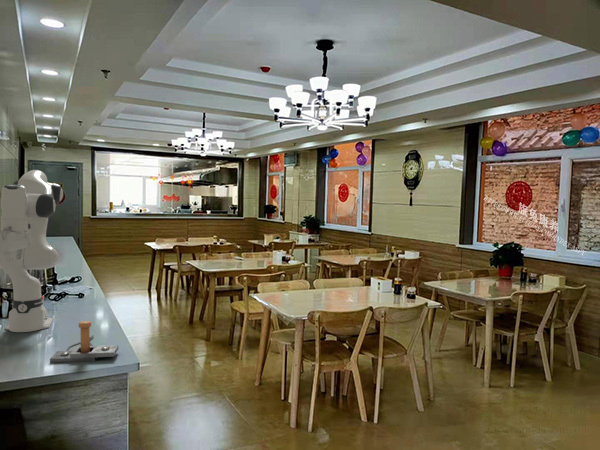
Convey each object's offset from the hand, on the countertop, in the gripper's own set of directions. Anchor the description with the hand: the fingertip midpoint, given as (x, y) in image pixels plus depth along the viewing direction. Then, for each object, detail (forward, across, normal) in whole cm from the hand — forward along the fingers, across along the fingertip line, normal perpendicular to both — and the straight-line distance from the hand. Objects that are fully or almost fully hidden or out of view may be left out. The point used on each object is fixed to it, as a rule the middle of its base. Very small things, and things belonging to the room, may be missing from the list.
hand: (14, 261), depth 177 cm
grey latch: (+37, -8, -28) cm, 47 cm away
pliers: (+38, +10, -22) cm, 45 cm away
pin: (+37, -8, -28) cm, 47 cm away
